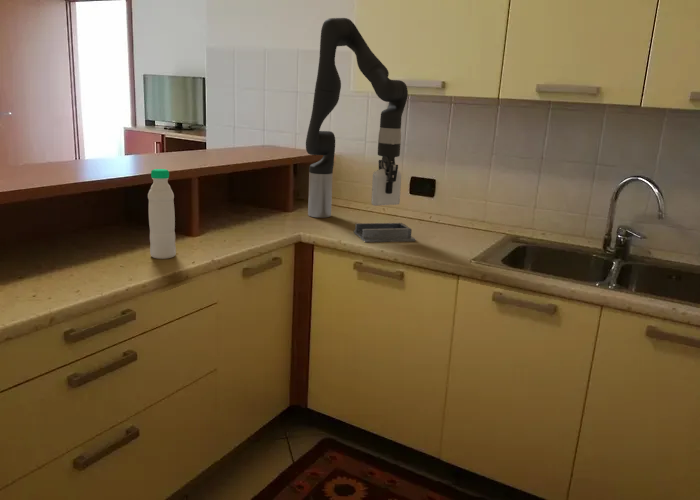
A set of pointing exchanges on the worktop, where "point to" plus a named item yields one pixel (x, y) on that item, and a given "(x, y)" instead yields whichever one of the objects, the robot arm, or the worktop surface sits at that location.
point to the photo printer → (380, 186)
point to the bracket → (383, 232)
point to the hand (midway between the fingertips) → (386, 191)
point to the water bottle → (161, 216)
